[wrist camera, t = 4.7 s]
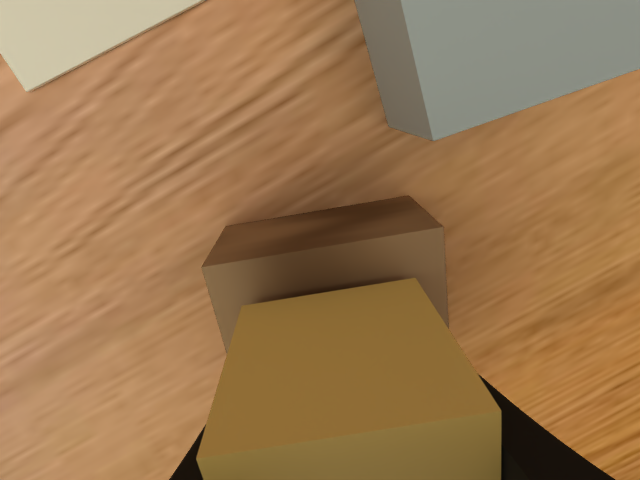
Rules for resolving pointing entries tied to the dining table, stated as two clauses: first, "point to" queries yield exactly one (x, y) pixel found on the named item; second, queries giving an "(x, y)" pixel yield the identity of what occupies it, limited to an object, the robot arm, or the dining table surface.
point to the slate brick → (491, 56)
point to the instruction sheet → (73, 32)
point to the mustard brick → (350, 393)
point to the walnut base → (325, 256)
